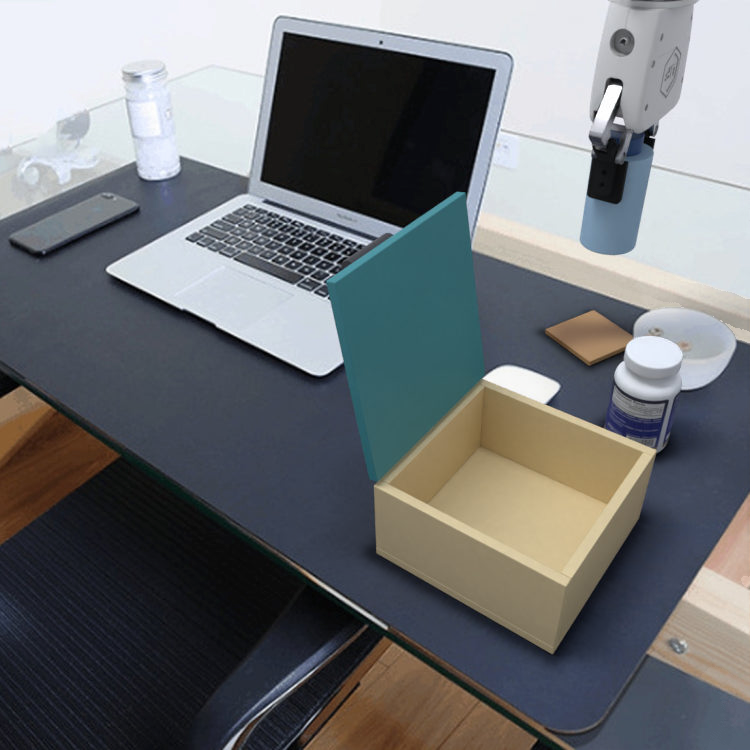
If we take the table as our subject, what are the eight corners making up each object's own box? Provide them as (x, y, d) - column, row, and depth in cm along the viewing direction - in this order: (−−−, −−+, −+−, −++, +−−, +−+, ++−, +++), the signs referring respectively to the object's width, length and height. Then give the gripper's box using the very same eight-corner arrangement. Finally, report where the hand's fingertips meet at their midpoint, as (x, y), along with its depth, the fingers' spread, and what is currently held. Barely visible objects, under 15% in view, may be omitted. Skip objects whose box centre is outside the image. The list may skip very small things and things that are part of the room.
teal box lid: (465, 192, 60) (417, 187, 62) (334, 282, 50) (284, 273, 52) (485, 374, 68) (443, 364, 71) (377, 482, 58) (332, 466, 61)
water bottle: (647, 245, 78) (670, 135, 71) (606, 261, 76) (626, 149, 69) (608, 224, 82) (626, 117, 75) (568, 238, 80) (583, 129, 73)
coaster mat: (638, 344, 85) (639, 340, 85) (589, 366, 82) (590, 361, 82) (592, 314, 90) (593, 309, 89) (544, 333, 87) (545, 328, 87)
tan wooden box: (638, 518, 66) (657, 450, 61) (552, 655, 56) (566, 586, 51) (476, 444, 73) (481, 378, 69) (375, 553, 64) (373, 485, 59)
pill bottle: (631, 409, 77) (651, 324, 71) (680, 441, 73) (705, 355, 67) (589, 432, 74) (605, 346, 68) (637, 468, 71) (659, 380, 64)
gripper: (659, 7, 57) (618, 234, 68) (735, -38, 67) (688, 165, 79) (563, -6, 60) (539, 212, 72) (649, -46, 71) (616, 149, 82)
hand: (617, 185), depth 75 cm, fingers closed on water bottle, 5 cm apart
